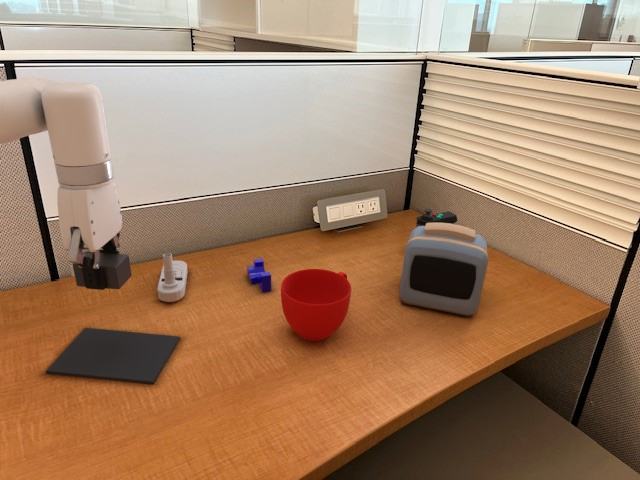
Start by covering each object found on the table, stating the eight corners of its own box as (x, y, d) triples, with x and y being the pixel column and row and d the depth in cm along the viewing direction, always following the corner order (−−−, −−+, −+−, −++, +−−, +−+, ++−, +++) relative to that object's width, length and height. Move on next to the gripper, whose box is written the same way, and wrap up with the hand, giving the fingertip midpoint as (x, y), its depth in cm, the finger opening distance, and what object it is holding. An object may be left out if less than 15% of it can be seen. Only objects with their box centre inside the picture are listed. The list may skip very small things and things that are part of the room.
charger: (69, 285, 76) (64, 263, 75) (84, 272, 80) (80, 250, 79) (119, 289, 76) (115, 267, 74) (131, 275, 80) (128, 254, 78)
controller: (410, 243, 129) (415, 208, 125) (445, 235, 135) (450, 202, 130) (420, 249, 126) (425, 214, 122) (455, 242, 131) (462, 208, 127)
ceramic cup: (370, 317, 96) (374, 274, 92) (323, 361, 84) (326, 313, 79) (317, 296, 103) (319, 255, 99) (266, 334, 90) (265, 288, 86)
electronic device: (185, 231, 108) (180, 260, 94) (188, 269, 112) (184, 302, 98) (160, 232, 107) (151, 261, 93) (164, 271, 111) (157, 304, 97)
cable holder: (247, 275, 110) (246, 260, 108) (262, 273, 111) (262, 258, 109) (255, 293, 103) (255, 277, 101) (271, 291, 104) (271, 275, 102)
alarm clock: (396, 305, 101) (405, 237, 94) (407, 270, 115) (415, 209, 108) (476, 321, 97) (492, 251, 90) (477, 283, 111) (490, 220, 104)
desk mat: (46, 373, 78) (45, 370, 78) (85, 330, 89) (85, 327, 89) (153, 384, 77) (153, 381, 77) (180, 339, 88) (179, 336, 87)
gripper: (90, 155, 78) (107, 255, 86) (23, 189, 63) (51, 306, 71) (135, 158, 78) (148, 258, 85) (78, 192, 62) (100, 310, 70)
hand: (104, 279), depth 78 cm, fingers closed on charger, 4 cm apart
